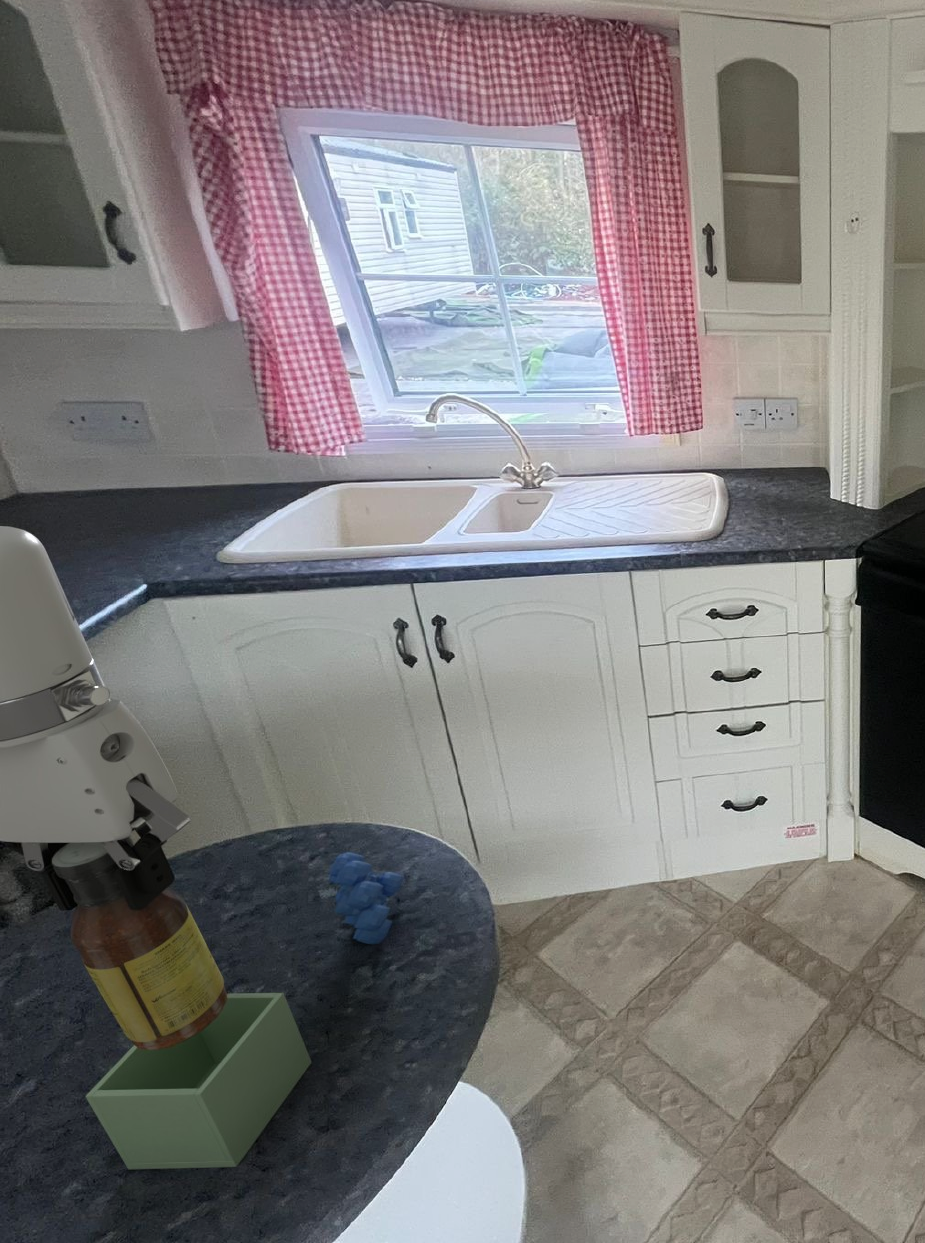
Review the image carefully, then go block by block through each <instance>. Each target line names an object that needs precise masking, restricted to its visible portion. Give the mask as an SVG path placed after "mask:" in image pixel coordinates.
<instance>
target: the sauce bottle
mask: <svg viewBox="0 0 925 1243" xmlns="http://www.w3.org/2000/svg"><path fill="white" fill-rule="evenodd" d="M124 839H125V840H126V841H127V843H128V844H129V845H130V846H131V848H132V846H133V845H134V844H135V843H134V841H133V839H132V837H131V835H130V836H128V837H127V838H124ZM52 865H53V867H54V870H55V872H56V874H57V875H58V876H59V877H60V878H63V879H65V881H66V882H67V884H68V885H69V887H70V889H71V891H72V893H73V895H74V901H75V902H76V903H77V904H78V905H77V907H75V910H74V912H73V915H72V917H71V925H70V926H71V927H70V939H71V941H72V943H73V945H74V946H75V948H76V950H77V951H78V952H79V954H80V956H81V961H82V963H83V965H84V967H85V969H86V970H87V972H88V974H89V976H90V977H91V980H92V981H93V983H94V985H95V986H96V987H97V989H98V992H99V993H100V995H101V996H102V998H103V1000H104V1002H105V1004H106V1005H107V1007H108V1008H109V1010H110V1011H111V1013H112V1014H113V1016H114V1019H115V1020H116V1021H117V1023H118V1025H119V1027H120V1028H121V1030H122V1032H123V1033H124V1035H125V1036H126V1038H128V1039H129V1040H131V1041H132V1043H133V1046H134V1045H135V1046H136V1047H137V1048H139V1049H141V1050H156V1049H163V1048H168V1047H172V1046H175V1045H177V1044H179V1043H181V1042H184V1041H186V1040H187V1039H189V1038H191V1037H192V1036H194V1035H196V1034H198V1033H199V1032H201V1031H202V1030H203V1029H205V1028H206V1027H207V1026H208V1025H209V1024H210V1023H211V1022H212V1021H213V1020H215V1019H216V1018H217V1017H218V1015H219V1014H220V1012H221V1011H222V1010H223V1007H224V1005H225V1003H226V1000H227V994H228V993H227V990H226V988H225V979H224V977H223V975H222V973H221V971H220V968H219V967H218V964H217V963H216V961H215V959H214V957H213V955H212V953H211V951H210V949H209V947H208V945H207V943H206V941H205V938H204V936H203V935H202V933H201V931H200V929H199V927H198V924H197V922H196V920H195V919H194V917H193V914H192V913H191V910H190V908H189V907H188V905H187V903H186V902H185V899H184V898H183V896H181V895H180V893H177V892H176V891H175V890H173V889H172V888H171V887H170V886H169V887H167V888H166V889H165V890H164V891H163V892H162V893H161V894H159V895H158V896H157V897H156V898H155V899H154V900H153V901H151V902H150V903H149V904H148V905H147V906H146V907H145V908H143V909H142V910H131V909H130V908H129V906H128V904H127V902H126V900H125V898H124V896H123V894H122V892H121V890H120V888H119V886H118V884H117V882H116V879H115V877H114V874H113V873H114V872H115V871H116V870H117V869H119V868H120V867H119V866H118V865H117V864H116V862H115V861H114V860H113V859H112V857H111V856H110V855H109V854H108V852H107V851H106V850H105V849H104V847H103V846H102V845H101V844H100V842H78V843H68V844H67V845H65V846H64V847H62V848H61V849H60V850H59V851H58V852H56V854H55V855H54V856H53V858H52Z"/></svg>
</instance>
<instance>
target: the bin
mask: <svg viewBox="0 0 925 1243" xmlns="http://www.w3.org/2000/svg"><path fill="white" fill-rule="evenodd" d="M302 1037H303V1036H302V1035H301V1033H300V1030H299V1028H298V1025H297V1023H296V1020H295V1018H294V1015H293V1013H292V1010H291V1008H290V1005H289V1003H288V1001H287V998H286V995H285V994H284V992H251V993H250V992H247V993H243V992H242V993H241V992H240V993H237V992H235V993H227V1000H226V1003H225V1005H224V1007H223V1010H222V1011H221V1012H220V1014H219V1015H218V1017H217V1018H216V1019H215V1020H213V1021H212V1022H211V1023H210V1024H209V1025H208V1026H207V1027H206V1028H205V1029H203V1030H202V1031H201V1032H199V1033H198V1034H196V1035H194V1036H192V1037H191V1038H189V1039H187V1040H186V1041H184V1042H181V1043H179V1044H177V1045H175V1046H172V1047H168V1048H163V1049H156V1050H141V1049H139V1048H137V1047H136V1046H135V1045H134V1044H133V1046H132V1047H131V1048H130V1049H129V1050H128V1051H127V1052H126V1053H125V1054H124V1055H123V1056H122V1057H121V1058H120V1059H119V1060H118V1061H117V1062H116V1063H115V1064H114V1066H113V1067H112V1068H111V1069H109V1071H107V1073H106V1074H105V1075H104V1076H103V1077H102V1078H101V1079H100V1080H99V1081H98V1082H97V1083H96V1084H95V1085H94V1086H93V1087H92V1089H91V1090H89V1092H88V1093H86V1095H85V1096H84V1097H85V1099H86V1100H87V1102H88V1104H89V1106H90V1108H91V1109H92V1111H93V1112H94V1114H95V1116H96V1118H97V1119H98V1120H99V1122H100V1124H101V1126H102V1127H103V1130H104V1131H105V1132H106V1134H107V1136H108V1138H109V1139H110V1140H111V1142H112V1144H113V1146H114V1148H115V1149H116V1151H117V1153H118V1154H119V1156H120V1158H121V1160H122V1162H123V1163H124V1164H125V1167H126V1168H127V1170H163V1169H164V1170H166V1169H168V1170H169V1169H200V1168H201V1169H206V1168H207V1169H209V1168H237V1167H238V1166H239V1164H240V1163H241V1162H242V1160H243V1159H244V1158H245V1156H246V1154H247V1153H248V1152H249V1150H250V1149H251V1148H252V1146H253V1145H254V1144H255V1142H256V1141H257V1139H258V1138H259V1137H260V1136H261V1134H262V1133H263V1131H264V1130H265V1129H266V1127H267V1125H269V1122H270V1121H271V1120H272V1118H273V1117H274V1115H275V1114H276V1113H277V1112H278V1110H279V1108H280V1107H281V1106H282V1104H283V1103H284V1102H285V1100H286V1099H287V1098H288V1097H289V1095H290V1093H291V1092H292V1091H293V1089H294V1088H295V1086H296V1085H297V1084H298V1082H299V1080H301V1078H302V1076H303V1075H304V1074H305V1072H306V1071H307V1070H308V1069H309V1067H310V1066H311V1064H312V1059H311V1057H310V1054H309V1052H308V1049H307V1047H306V1045H305V1042H304V1040H303V1038H302Z"/></svg>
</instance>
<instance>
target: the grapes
mask: <svg viewBox="0 0 925 1243" xmlns="http://www.w3.org/2000/svg"><path fill="white" fill-rule="evenodd" d="M364 859H365V856H364V855H361V854H359V853H354V852H351V851H347V852H343V853H340V854H339V855H337V857H336V858H335V859H334V861H333V862H332V864H331V866H330V868H329V871H328V875H329V879H328V882H329V883H332V884H336V885H339V886H340V887H339V889H338V890H337V892H336V895H335V897H334V901H336V902H337V903H336V906H335V908H334V910H333V913H335V914H338V915H341V916H345V919H344V921H343V923H344V924H348V925H352V926H354V927H353V928H355V929H356V930H355V932H354V934H353V937H352V940H353V939H354V940H356V941H357V942H359V943H363V944H367V945H377V944H380V943H382V942H383V941H384V939H386V937H387V935H388V933H389V932H390V929H391V927H392V924H393V920H390V919H387V917H388V915H389V913H390V911H391V907H389V906H388V904H389V901H387V898H390V897H393V896H395V894H396V893H397V892H398V891H399V889H400V887H401V885H402V882H403V880H404V878H405V875H403V874H400V873H396V872H392V871H387V872H386V871H385V872H383V873H380V874H379V875H377V874H376V872H375V871H371V867H372V863H369V862H366V861H364Z"/></svg>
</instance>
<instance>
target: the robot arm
mask: <svg viewBox="0 0 925 1243" xmlns="http://www.w3.org/2000/svg"><path fill="white" fill-rule="evenodd" d="M110 697H111V692H110V689H109V688H108V687H106V685H105V683H104V680H103V678H102V676H101V674H100V672H99V668H98V667H97V664H96V662H95V660H94V657H93V655H92V653H91V650H90V649H89V646H88V644H87V641H86V639H85V637H84V634H83V633H82V630H81V628H80V625H79V623H78V621H77V618H76V616H75V614H74V612H73V610H72V606H71V605H70V603H69V600H68V598H67V595H66V594H65V591H64V589H63V587H62V584H61V582H60V580H59V577H58V575H57V572H56V571H55V567H54V566H53V563H52V562H51V559H50V557H49V555H48V552H47V550H46V548H45V546H44V545H43V543H42V542H41V541H40V540H39V538H37V537H36V536H35V535H34V534H32V533H31V532H29V531H26V530H25V529H23V528H22V529H21V528H17V527H13V526H4V525H0V842H1V843H4V845H5V847H6V848H7V849H10V850H12V851H14V852H16V853H18V854H20V855H21V856H24V861H25V865H26V866H27V868H29V869H30V870H32V871H35V872H40V876H41V878H42V879H43V881H44V883H45V886H46V887H47V889H48V891H49V893H50V894H51V896H52V899H53V900H54V902H55V904H56V906H57V908H58V909H59V911H61V912H62V911H65V912H66V911H72V910H74V909H76V907H77V905H78V904H77V903H76V902H75V901H74V895H73V893H72V891H71V889H70V887H69V885H68V884H67V882H66V881H65V879H63V878H60V877H59V876H58V875H57V874H56V872H55V870H54V867H53V865H52V858H53V856H54V855H55V854H56V852H58V851H59V850H60V849H61V848H62V847H64V846H65V845H67V844H68V843H78V842H100V844H101V845H102V846H103V847H104V849H105V850H106V851H107V852H108V854H109V855H110V856H111V857H112V859H113V860H114V861H115V862H116V864H117V865H118V866H119V867H120V868H119V869H117V870H116V871H115V872H114V873H113V874H114V877H115V879H116V882H117V884H118V886H119V888H120V890H121V892H122V894H123V896H124V898H125V900H126V902H127V904H128V906H129V908H130V909H131V910H142V909H143V908H145V907H146V906H147V905H148V904H149V903H150V902H151V901H153V900H154V899H155V898H156V897H157V896H158V895H159V894H161V893H162V892H163V891H164V890H165V889H166V888H167V887H169V888H170V886H171V885H172V884H173V883H174V882H175V879H176V876H175V874H174V872H173V869H172V867H171V865H170V862H169V861H168V858H167V856H166V854H165V851H164V849H163V847H162V846H165V844H166V843H167V842H168V839H170V838H171V837H173V836H174V835H176V834H177V833H178V832H179V831H181V830H182V829H183V828H185V826H187V825H188V824H189V823H190V822H191V820H192V819H191V817H190V816H189V815H188V814H187V813H185V812H184V811H183V810H181V809H180V808H179V807H177V805H175V804H174V803H175V802H176V801H177V800H178V790H177V788H176V784H175V783H174V780H173V778H172V776H171V774H170V772H169V770H168V768H167V766H166V764H165V762H164V760H163V758H162V757H161V755H160V754H159V751H158V750H157V748H156V745H155V744H154V742H153V741H152V739H151V738H150V736H149V735H148V733H147V732H146V730H145V729H144V727H143V726H142V724H141V723H140V722H139V720H138V719H137V718H136V717H135V716H134V714H133V712H132V711H131V710H129V708H128V707H127V706H126V705H125V704H124V703H123V702H122V700H120V699H117V698H116V699H115V698H110ZM133 832H136V834H137V835H138V837H139V839H138V840H136V842H135V843H134V844H133V846H132V848H131V846H130V845H129V844H128V843H127V841H126V840H125V839H124V838H127V837H128V836H130V837H131V835H132V834H133Z"/></svg>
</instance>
